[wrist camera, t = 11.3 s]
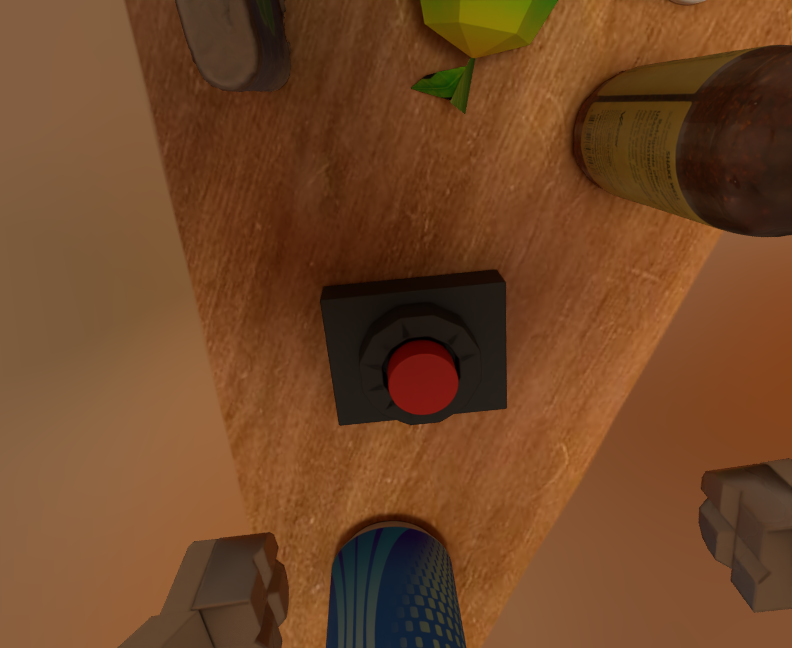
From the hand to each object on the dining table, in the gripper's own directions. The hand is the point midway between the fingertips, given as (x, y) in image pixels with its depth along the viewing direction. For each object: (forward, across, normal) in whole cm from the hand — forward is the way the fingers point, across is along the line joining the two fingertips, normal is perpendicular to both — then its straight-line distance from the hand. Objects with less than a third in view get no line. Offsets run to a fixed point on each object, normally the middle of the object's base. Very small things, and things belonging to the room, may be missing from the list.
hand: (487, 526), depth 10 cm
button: (+18, +1, +6) cm, 19 cm away
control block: (+22, +1, +6) cm, 23 cm away
